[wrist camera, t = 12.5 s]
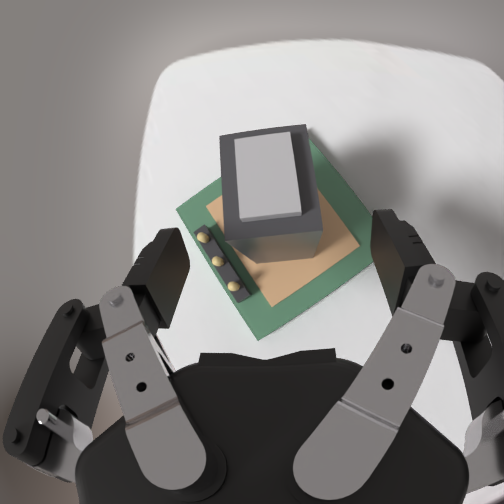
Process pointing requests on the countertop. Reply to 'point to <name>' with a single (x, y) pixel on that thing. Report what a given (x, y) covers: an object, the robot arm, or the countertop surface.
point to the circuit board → (284, 272)
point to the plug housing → (270, 194)
